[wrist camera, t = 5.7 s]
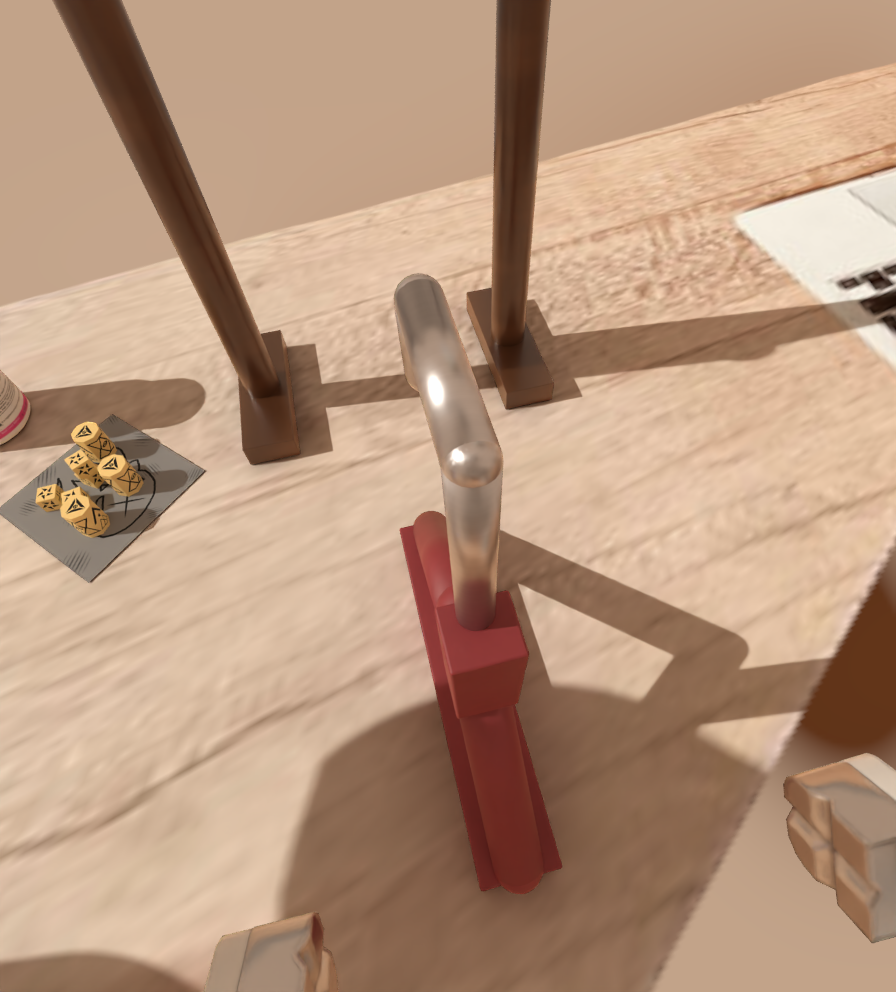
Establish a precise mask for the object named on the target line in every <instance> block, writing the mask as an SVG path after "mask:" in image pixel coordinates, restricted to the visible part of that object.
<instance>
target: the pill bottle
mask: <svg viewBox="0 0 896 992" xmlns="http://www.w3.org/2000/svg"><path fill="white" fill-rule="evenodd" d="M29 415H30V402H29V400H28V399H27V397H26V396H25V395H24V394H23V393H22V392H21V391H20V390H19V388H18V387H17V386H16V385H15V384H14V383H13V382H12V381H11V380H10V379H9V378H8V377H7V376H6V375H5V374H4V373H3V372H2V371H1V370H0V445H1V444H3V443H5V442H7V441H9V440H10V439H11V438H13V437H14V436H15V435H17V434H18V433H19V432H20V431H21V429H22V428H23V427H24V426H25V424H26V422H27V420H28V418H29Z"/></svg>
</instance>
